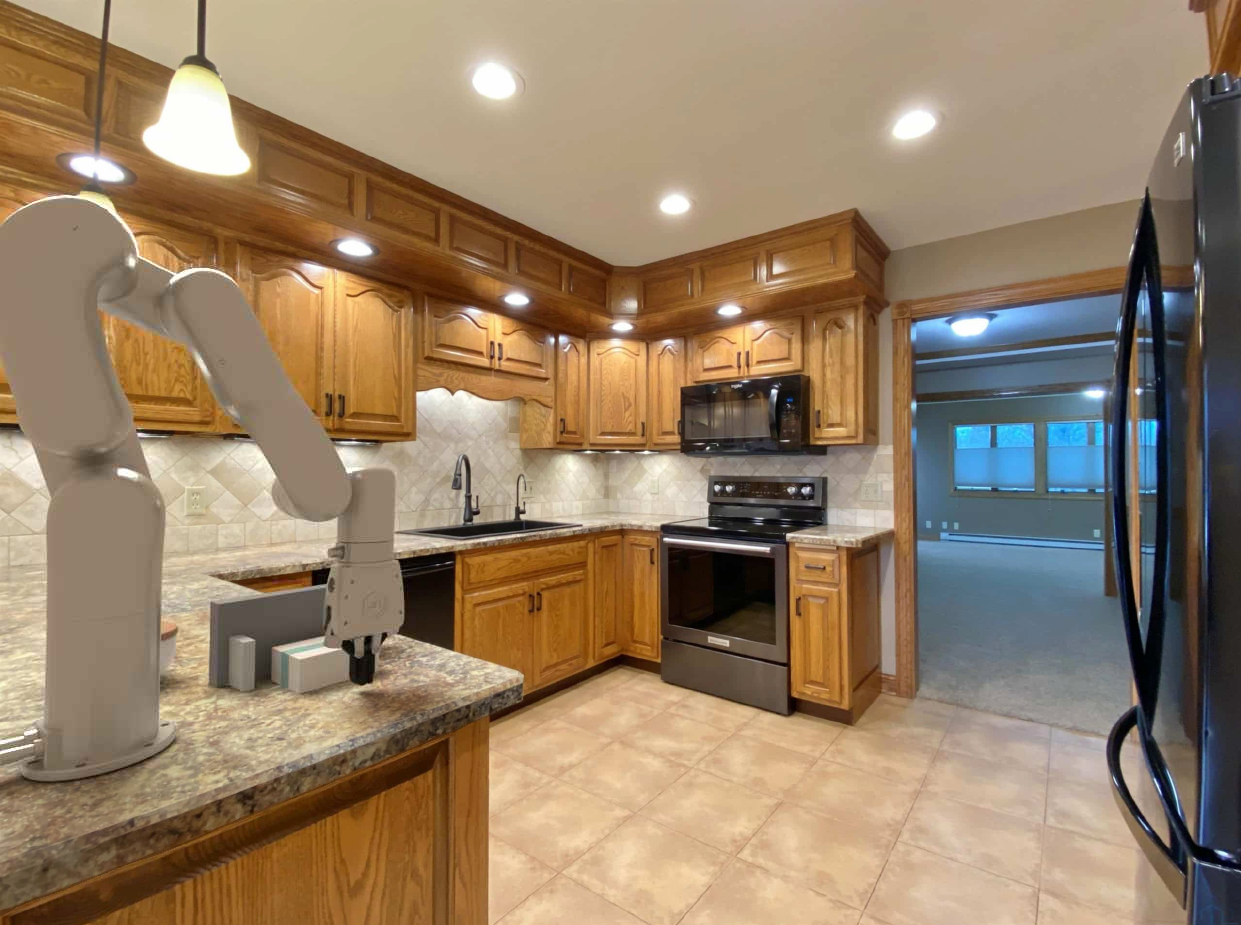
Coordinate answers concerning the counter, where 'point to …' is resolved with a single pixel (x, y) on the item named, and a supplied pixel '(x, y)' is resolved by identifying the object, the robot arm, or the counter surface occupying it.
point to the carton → (310, 665)
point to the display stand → (260, 632)
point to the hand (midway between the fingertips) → (361, 682)
